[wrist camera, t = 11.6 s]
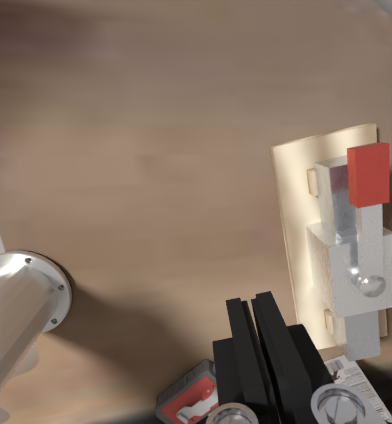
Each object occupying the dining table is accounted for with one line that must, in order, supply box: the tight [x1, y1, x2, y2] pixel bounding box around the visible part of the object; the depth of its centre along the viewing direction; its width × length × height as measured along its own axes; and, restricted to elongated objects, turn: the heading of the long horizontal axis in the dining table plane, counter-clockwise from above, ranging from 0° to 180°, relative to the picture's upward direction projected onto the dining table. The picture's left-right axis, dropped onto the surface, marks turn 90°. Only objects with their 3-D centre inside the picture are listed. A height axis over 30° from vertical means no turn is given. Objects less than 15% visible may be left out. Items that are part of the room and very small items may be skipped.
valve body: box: [305, 155, 392, 362], centre depth 38 cm, size 7×25×7 cm, turn 13°
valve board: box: [270, 123, 387, 350], centre depth 41 cm, size 12×30×3 cm, turn 13°
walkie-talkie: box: [156, 359, 219, 424], centre depth 47 cm, size 9×4×20 cm
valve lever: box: [347, 142, 389, 298], centre depth 31 cm, size 16×3×2 cm, turn 11°
